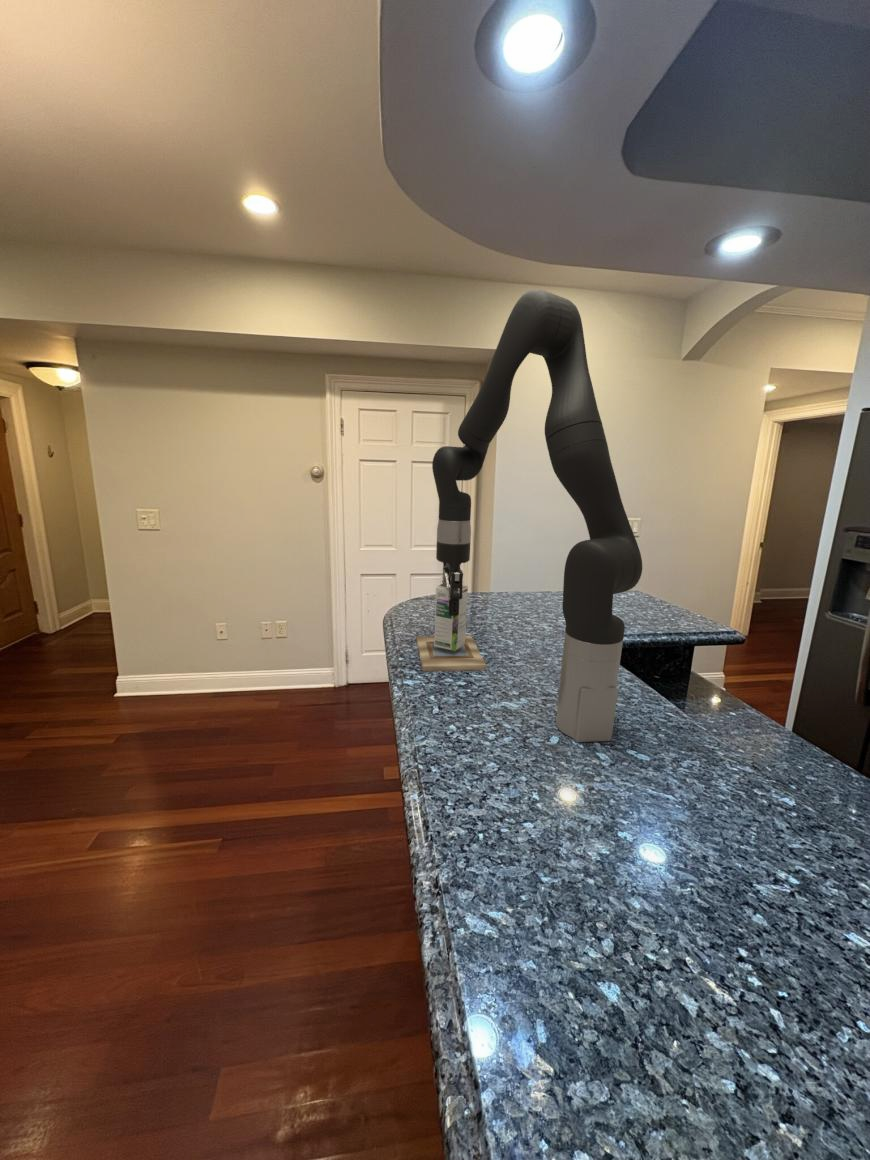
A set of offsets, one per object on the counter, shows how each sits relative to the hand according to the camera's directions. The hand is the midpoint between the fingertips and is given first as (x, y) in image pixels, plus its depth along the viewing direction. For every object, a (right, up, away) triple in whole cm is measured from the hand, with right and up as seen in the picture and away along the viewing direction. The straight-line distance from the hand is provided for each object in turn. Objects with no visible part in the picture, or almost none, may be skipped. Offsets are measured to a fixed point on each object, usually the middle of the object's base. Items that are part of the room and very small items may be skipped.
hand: (450, 609), depth 111 cm
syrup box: (0, -9, +2) cm, 9 cm away
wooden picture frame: (0, -11, +3) cm, 11 cm away
